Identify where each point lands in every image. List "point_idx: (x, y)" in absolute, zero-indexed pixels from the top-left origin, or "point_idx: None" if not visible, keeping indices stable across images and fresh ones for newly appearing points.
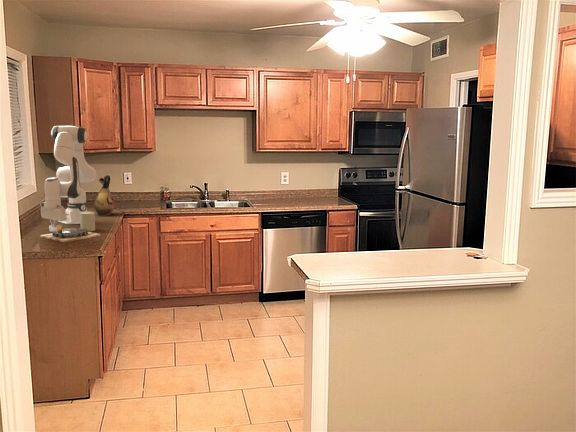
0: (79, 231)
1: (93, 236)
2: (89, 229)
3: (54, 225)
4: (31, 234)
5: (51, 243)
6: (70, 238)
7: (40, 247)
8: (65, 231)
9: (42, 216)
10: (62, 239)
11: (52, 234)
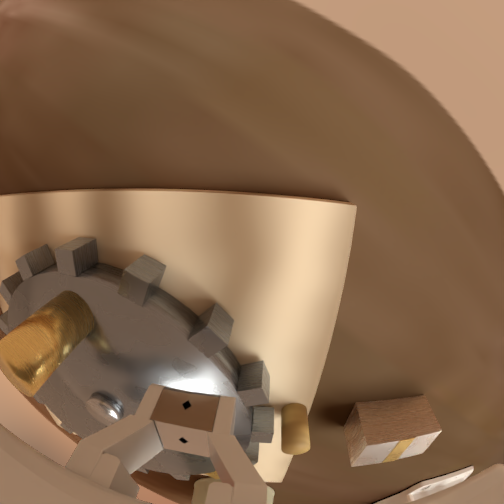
0: (60, 405)
1: None
2: (195, 488)
3: (142, 401)
4: (489, 248)
5: (17, 106)
6: (9, 276)
7: (17, 18)
8: (110, 383)
9: (501, 487)
10: (7, 215)
11: (153, 268)
